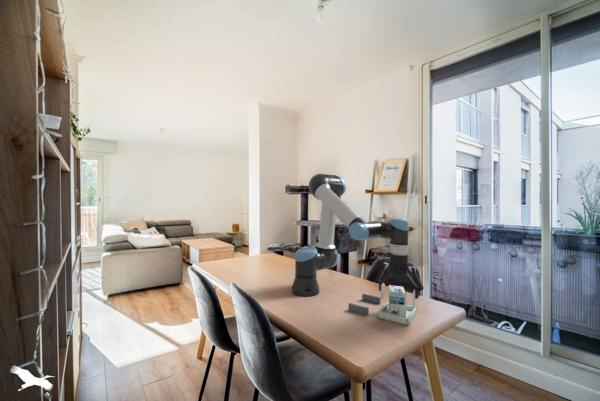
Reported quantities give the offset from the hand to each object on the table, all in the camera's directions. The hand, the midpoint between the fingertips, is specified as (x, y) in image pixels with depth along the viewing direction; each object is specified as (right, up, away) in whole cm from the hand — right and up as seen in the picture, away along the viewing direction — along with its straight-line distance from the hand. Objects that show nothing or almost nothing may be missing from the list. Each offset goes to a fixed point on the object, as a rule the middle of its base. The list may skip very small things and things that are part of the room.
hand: (398, 302), depth 118 cm
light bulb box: (-1, -5, 0) cm, 5 cm away
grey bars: (-12, -6, +9) cm, 16 cm away
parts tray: (0, -6, 0) cm, 6 cm away
